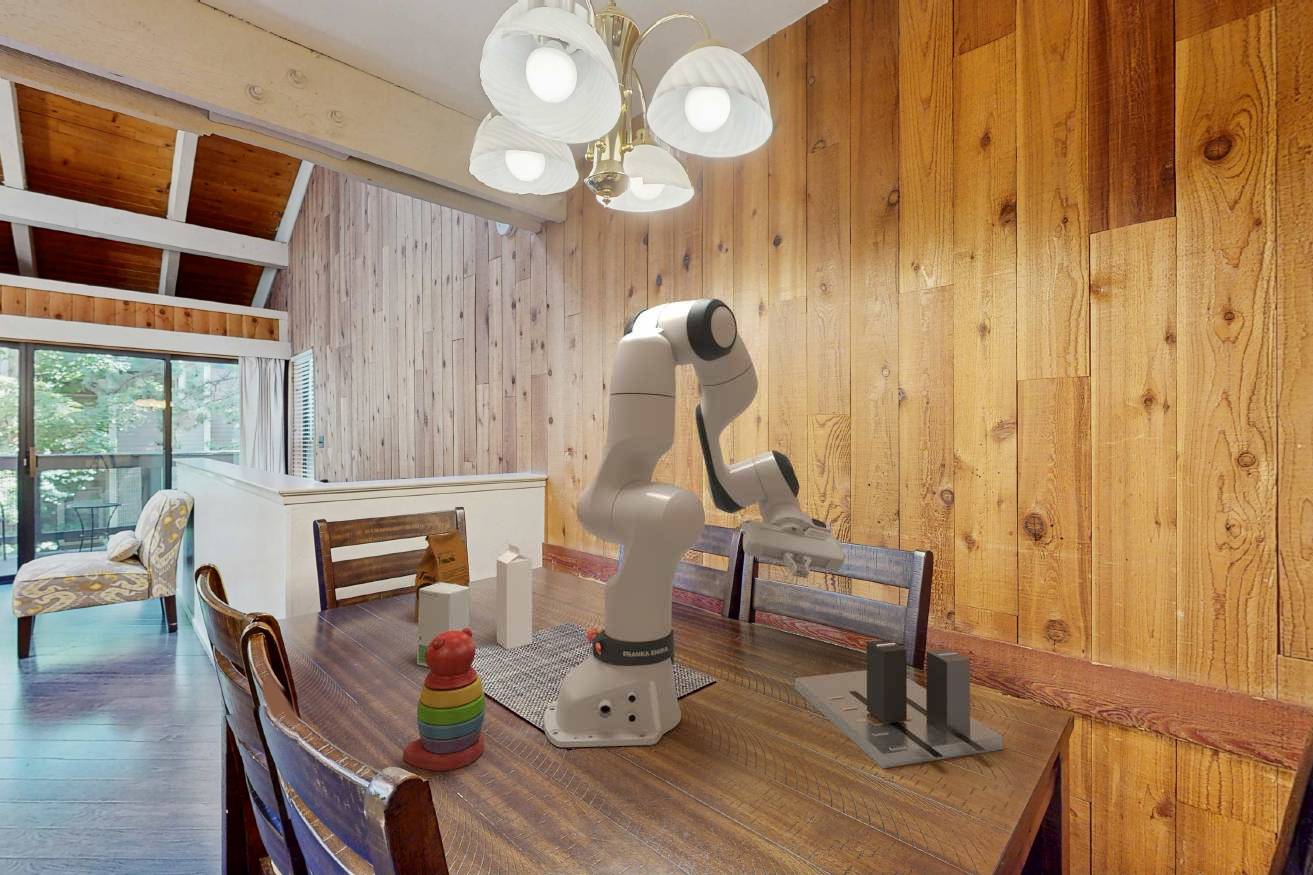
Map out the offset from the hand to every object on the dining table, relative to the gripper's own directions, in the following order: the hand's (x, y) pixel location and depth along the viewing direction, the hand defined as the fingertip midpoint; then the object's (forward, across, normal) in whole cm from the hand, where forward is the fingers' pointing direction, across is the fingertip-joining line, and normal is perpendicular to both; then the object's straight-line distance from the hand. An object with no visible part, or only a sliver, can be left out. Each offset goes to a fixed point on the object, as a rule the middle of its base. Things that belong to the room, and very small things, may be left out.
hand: (800, 574), depth 108 cm
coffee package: (-24, -71, +55) cm, 93 cm away
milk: (-8, -51, +41) cm, 66 cm away
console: (+22, +14, +8) cm, 27 cm away
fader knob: (+24, +11, +5) cm, 27 cm away
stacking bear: (+31, -54, +20) cm, 65 cm away
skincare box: (+1, -64, +39) cm, 75 cm away
